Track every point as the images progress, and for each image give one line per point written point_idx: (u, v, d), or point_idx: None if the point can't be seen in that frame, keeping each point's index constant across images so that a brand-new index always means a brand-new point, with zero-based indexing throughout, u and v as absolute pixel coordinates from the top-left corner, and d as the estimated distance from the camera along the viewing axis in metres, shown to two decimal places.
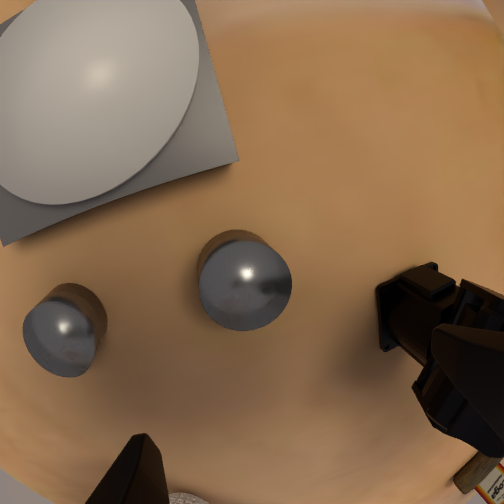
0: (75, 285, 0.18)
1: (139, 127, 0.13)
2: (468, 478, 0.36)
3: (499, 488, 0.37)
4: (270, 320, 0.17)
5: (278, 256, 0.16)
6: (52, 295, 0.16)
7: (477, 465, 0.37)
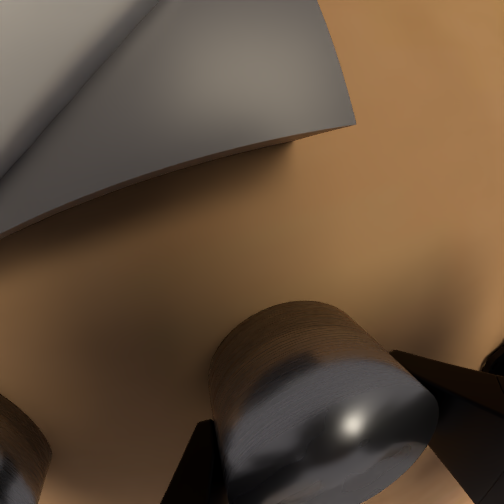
0: None
1: (15, 3, 0.02)
2: None
3: None
4: (372, 495, 0.06)
5: (430, 398, 0.05)
6: None
7: None
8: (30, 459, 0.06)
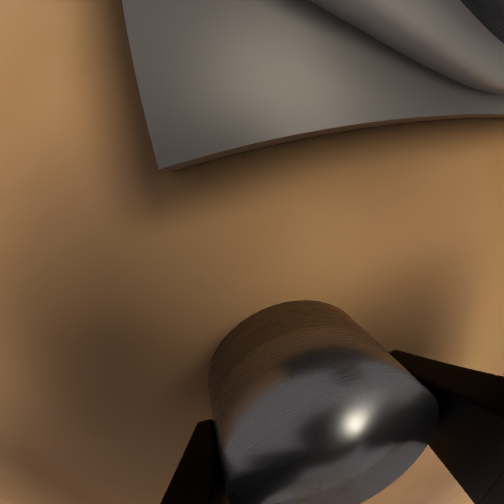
0: (324, 306, 0.08)
1: None
2: None
3: None
4: None
5: None
6: (316, 345, 0.06)
7: None
8: None
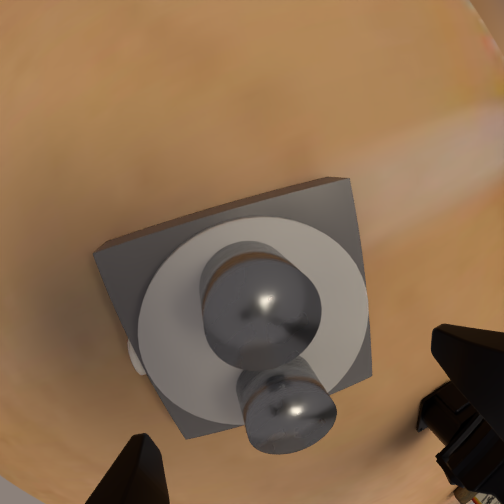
0: (261, 243, 0.15)
1: (321, 378, 0.19)
2: (466, 492, 0.43)
3: (491, 498, 0.44)
4: (312, 443, 0.15)
5: (327, 398, 0.14)
6: (248, 252, 0.13)
7: None
8: None
